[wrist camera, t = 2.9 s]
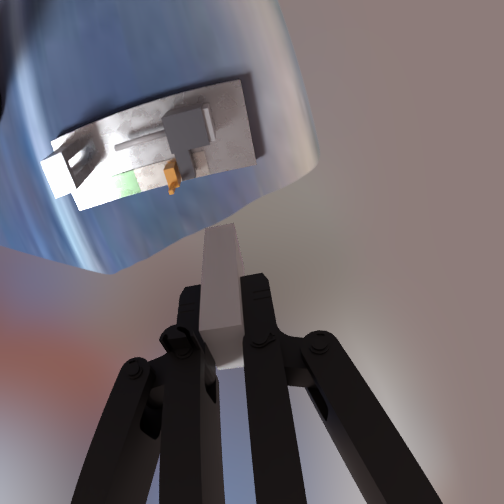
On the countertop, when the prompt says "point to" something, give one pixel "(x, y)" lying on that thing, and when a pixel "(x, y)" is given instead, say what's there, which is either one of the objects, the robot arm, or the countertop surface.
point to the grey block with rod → (182, 135)
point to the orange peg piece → (172, 176)
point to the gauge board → (146, 147)
